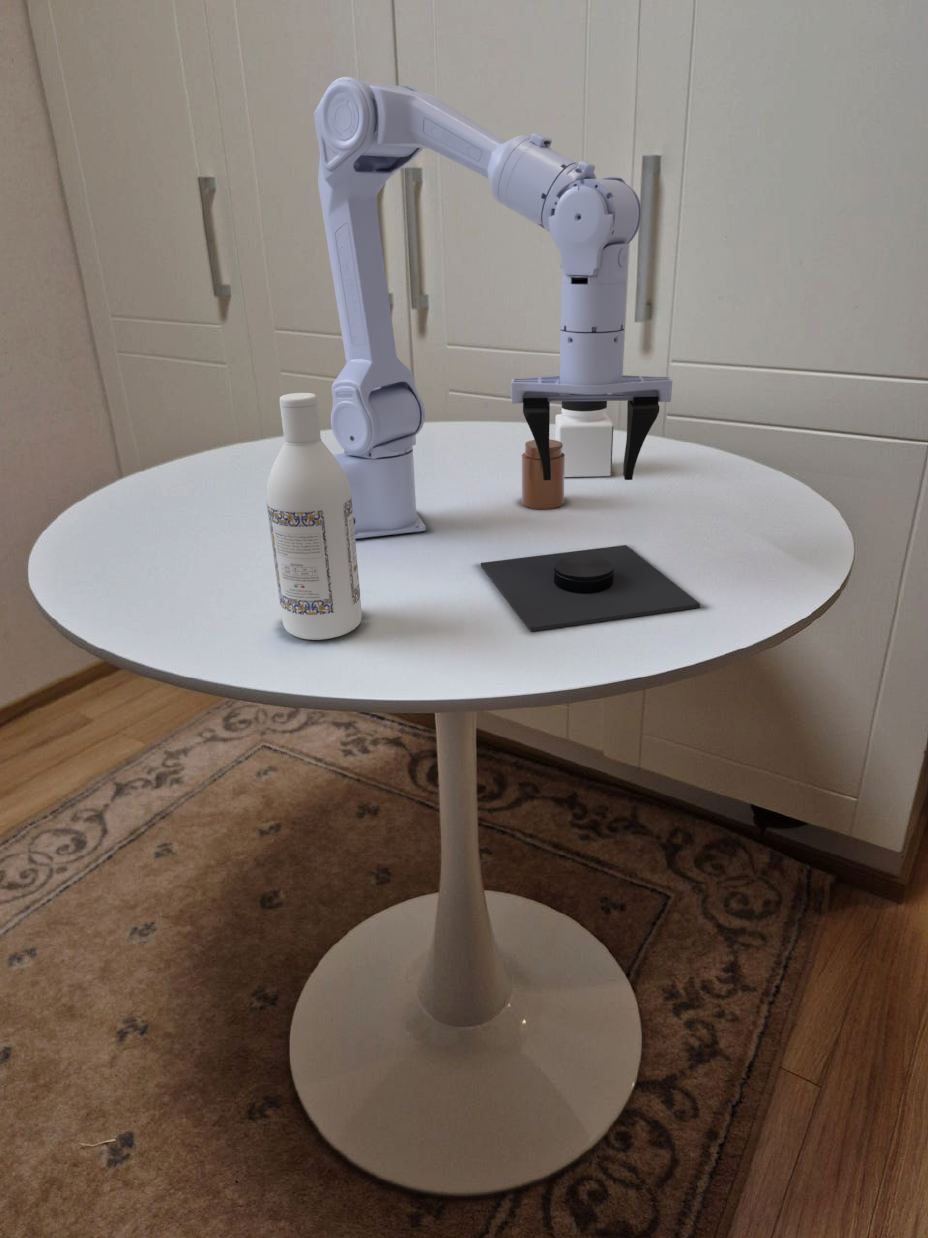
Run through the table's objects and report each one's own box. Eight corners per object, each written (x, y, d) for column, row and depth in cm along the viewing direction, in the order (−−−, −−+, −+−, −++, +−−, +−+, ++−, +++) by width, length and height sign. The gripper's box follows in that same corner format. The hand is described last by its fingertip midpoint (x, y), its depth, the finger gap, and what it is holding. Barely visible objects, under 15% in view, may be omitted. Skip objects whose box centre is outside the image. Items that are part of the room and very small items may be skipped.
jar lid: (610, 595, 79) (611, 578, 78) (549, 591, 80) (549, 574, 79) (615, 572, 84) (616, 556, 83) (558, 569, 85) (558, 553, 84)
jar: (529, 511, 103) (530, 450, 100) (516, 498, 108) (515, 440, 105) (570, 506, 105) (571, 446, 101) (554, 494, 109) (555, 436, 106)
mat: (530, 631, 74) (530, 627, 73) (480, 566, 88) (480, 562, 87) (699, 607, 77) (700, 603, 77) (625, 548, 91) (625, 544, 91)
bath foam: (332, 602, 80) (310, 384, 72) (378, 623, 76) (359, 394, 67) (268, 625, 76) (236, 397, 68) (312, 650, 72) (284, 408, 63)
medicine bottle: (611, 476, 116) (615, 385, 111) (558, 478, 116) (560, 387, 111) (604, 463, 122) (608, 376, 117) (554, 464, 122) (555, 378, 117)
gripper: (669, 322, 80) (658, 465, 85) (512, 325, 81) (513, 466, 87) (679, 331, 73) (667, 486, 79) (509, 334, 75) (510, 486, 80)
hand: (587, 477), depth 82 cm, fingers open, 7 cm apart
